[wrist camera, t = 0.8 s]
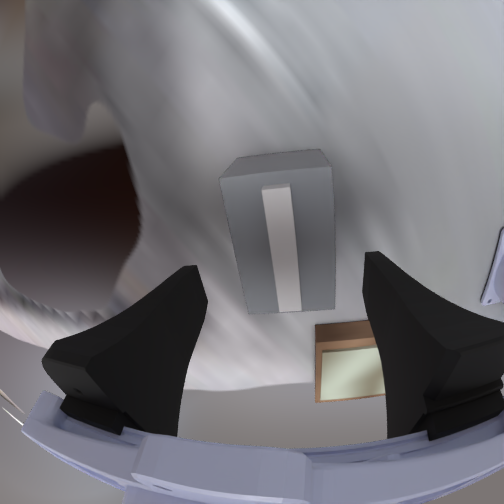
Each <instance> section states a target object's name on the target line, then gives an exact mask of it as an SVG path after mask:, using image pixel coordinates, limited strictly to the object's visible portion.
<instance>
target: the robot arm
mask: <svg viewBox="0 0 504 504" xmlns="http://www.w3.org/2000/svg"><path fill="white" fill-rule="evenodd" d="M362 293H363V298H364V303H365V308H366V313H367V316H368V319H369V322H370V325H371V328H372V332H373V335H374V338H375V341H376V345H377V348H378V351H379V355H380V359H381V365H382V371H383V378H384V386H385V396H386V407H387V439H385V440H379V441H373V442H367V443H360V444H352V445H343V446H333V447H320V448H294V449H286V448H275V447H265V446H246V445H233V444H222V443H213V442H205V441H198V440H191V439H185V438H180V437H177V432H178V421H179V413H180V405H181V399H182V393H183V388H184V383H185V378H186V373H187V369H188V365H189V362H190V359H191V356H192V353H193V350H194V348H195V345H196V342H197V339H198V337H199V334H200V331H201V328H202V325H203V322H204V319H205V315H206V310H207V304H208V299H207V296H206V293H205V290H204V287H203V284H202V281H201V277H200V274H199V271H198V268H197V265H191V266H184V267H182V268H180V269H179V270H178V271H176V272H175V273H174V274H172V275H171V276H170V277H169V278H167V279H166V280H165V281H164V282H162V283H161V284H160V285H159V286H157V287H156V288H155V289H154V290H152V291H151V292H150V293H148V294H147V295H146V296H144V297H143V298H142V299H140V300H139V301H138V302H136V303H135V304H134V305H132V306H131V307H129V308H128V309H126V310H124V311H123V312H121V313H120V314H118V315H116V316H114V317H112V318H111V319H109V320H107V321H105V322H103V323H101V324H99V325H97V326H95V327H93V328H90V329H88V330H86V331H83V332H81V333H78V334H75V335H72V336H69V337H66V338H63V339H60V340H56V341H55V342H54V343H53V344H52V345H51V347H50V348H49V350H48V351H47V353H46V354H45V356H44V357H43V358H42V364H43V368H44V369H45V371H46V372H47V374H48V375H49V376H50V377H51V379H52V380H53V381H54V382H55V383H56V384H57V385H58V386H59V388H60V389H61V390H62V391H63V392H64V393H65V394H66V397H65V399H64V400H63V399H62V398H60V397H59V396H57V395H54V394H52V393H50V392H47V391H45V390H43V391H42V393H41V395H40V396H39V398H38V400H37V401H36V403H35V405H34V407H33V408H32V411H31V412H30V414H29V416H28V418H27V419H26V421H25V423H24V425H23V427H22V429H21V431H22V432H23V433H24V434H25V435H26V436H28V437H29V438H30V439H31V440H33V441H34V442H35V443H37V444H38V445H39V446H41V447H42V448H44V449H45V450H47V451H48V452H49V453H51V454H52V455H54V456H55V457H57V458H58V459H60V460H62V461H63V462H65V463H67V464H69V465H71V466H73V467H74V468H76V469H78V470H80V471H82V472H84V473H86V474H87V475H89V476H91V477H94V478H96V479H98V480H100V481H102V482H104V483H106V484H108V485H111V486H113V487H116V488H118V489H120V490H123V491H125V494H124V497H123V500H122V503H121V504H422V503H425V502H428V501H431V500H434V499H437V498H440V497H442V496H445V495H447V494H450V493H453V492H455V491H457V490H459V489H462V488H464V487H466V486H469V485H471V484H473V483H475V482H477V481H479V480H481V479H483V478H485V477H487V476H489V475H491V474H493V473H495V472H497V471H498V470H500V469H502V468H504V396H502V393H501V391H500V389H502V388H503V382H502V380H501V377H502V375H503V374H504V322H500V321H497V320H493V319H490V318H486V317H484V316H481V315H478V314H476V313H473V312H471V311H468V310H466V309H464V308H461V307H459V306H457V305H455V304H453V303H451V302H449V301H447V300H446V299H444V298H442V297H440V296H439V295H437V294H435V293H434V292H432V291H431V290H429V289H427V288H426V287H424V286H423V285H422V284H420V283H419V282H417V281H416V280H415V279H413V278H412V277H411V276H409V275H408V274H407V273H406V272H404V271H403V270H402V269H401V268H399V267H398V266H397V265H396V264H394V263H393V262H392V261H391V260H390V259H388V258H387V257H386V256H385V255H383V254H382V253H381V252H379V251H375V252H365V262H364V277H363V289H362ZM498 302H503V303H504V229H503V230H502V231H501V235H500V240H499V244H498V248H497V252H496V255H495V259H494V263H493V266H492V269H491V273H490V276H489V279H488V282H487V285H486V288H485V291H484V294H483V297H482V299H481V304H482V305H483V306H485V305H490V304H494V303H498Z"/></svg>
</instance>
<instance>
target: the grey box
mask: <svg viewBox="0 0 504 504" xmlns="http://www.w3.org/2000/svg"><path fill="white" fill-rule="evenodd" d="M219 182H220V187H221V191H222V196H223V201H224V206H225V210H226V215H227V220H228V224H229V229H230V234H231V238H232V243H233V247H234V252H235V257H236V261H237V266H238V270H239V275H240V279H241V283H242V288H243V292H244V297H245V301H246V306H247V310H248V314H266V313H287V312H303V311H318V310H330V309H335V289H336V248H335V214H334V194H333V179H332V166H331V165H330V163H329V162H328V160H327V159H326V157H325V156H324V154H323V153H322V152H321V150H320V149H313V150H301V151H291V152H281V153H272V154H264V155H256V156H248V157H241V158H237V159H236V160H235V161H234V162H233V164H232V165H231V166H230V167H229V168H228V169H227V170H226V171H225V172H224V174H223V175H222V176H221V177H220V178H219Z"/></svg>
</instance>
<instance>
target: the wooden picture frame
mask: <svg viewBox="0 0 504 504" xmlns="http://www.w3.org/2000/svg"><path fill="white" fill-rule="evenodd" d="M382 395H385V386H384V378H383V371H382V365H381V359H380V355H379V351H378V348H377V345H376V341H375V338H374V335H373V332H372V328H371V325H370V322H369V320H366V321H356V322H346V323H335V324H322V325H315V402H316V403H318V402H332V401H343V400H352V399H361V398H369V397H376V396H382Z"/></svg>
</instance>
